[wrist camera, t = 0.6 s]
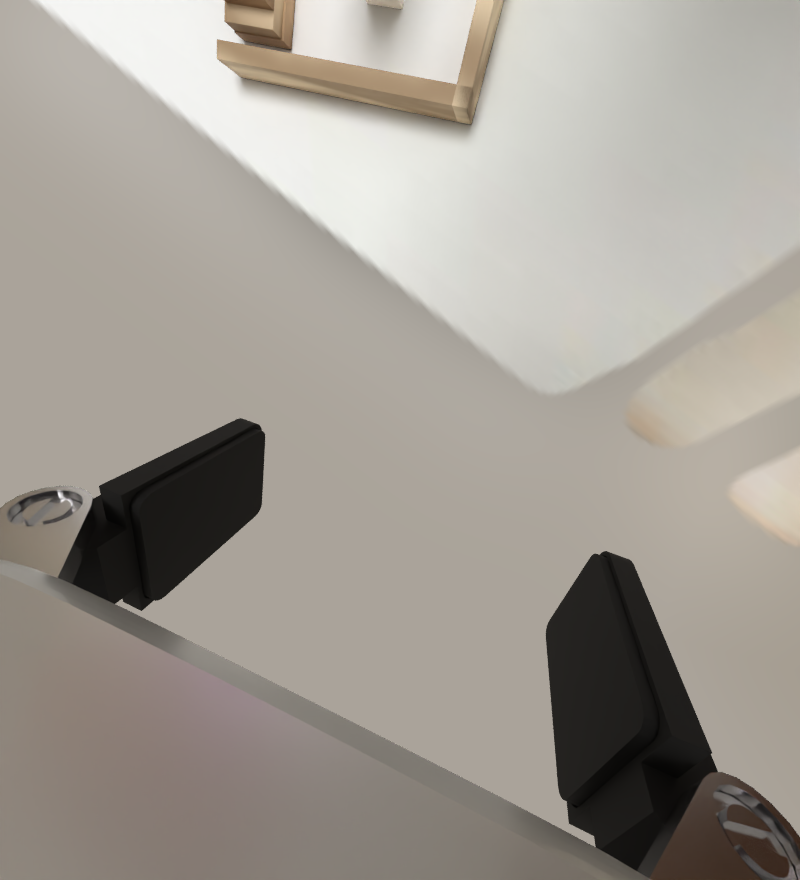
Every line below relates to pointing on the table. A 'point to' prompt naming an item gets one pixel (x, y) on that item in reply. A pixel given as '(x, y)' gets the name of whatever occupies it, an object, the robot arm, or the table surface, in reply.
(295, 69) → the frame
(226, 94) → the table surface
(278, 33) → the offcut stack
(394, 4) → the cream rectangular block
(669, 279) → the table surface
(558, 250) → the table surface
